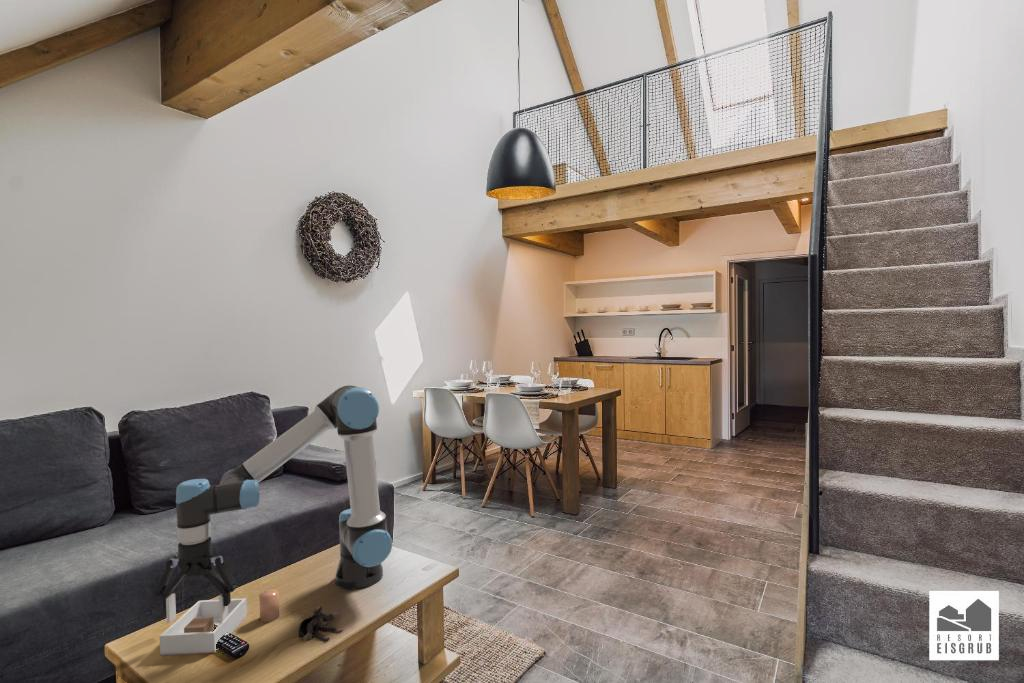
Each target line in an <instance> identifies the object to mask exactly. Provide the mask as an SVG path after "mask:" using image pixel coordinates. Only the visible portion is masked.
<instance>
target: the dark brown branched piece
mask: <svg viewBox="0 0 1024 683" xmlns="http://www.w3.org/2000/svg"><path fill="white" fill-rule="evenodd" d="M324 612H325V611H324V609H323V608H322V606H318V607H315V608H314V609H313V612H312V613H311V615H310V616H309V617H308V618H305V619H303V620H302V621H301V623H300V624H299V628H298V631H297V634H298V638H301V639H302V641H303V642H307V641H310V640H312V638H313V637H315V639H317V640H320V641H323V642H325V641H329V639H330V638H331V636H330V635H324V634H322V633H321V632H331V633H333V634H339V633H341V632H342V631H343V630H344V629H343V628H338V627H335V626H333V625H332V626H331V625H329V622H332V621H335V620H336V619H337V618H338V617H339V614H340V613H339V612H338V611H333V613H330V614H327V613H324ZM322 623H324V624H322Z"/></svg>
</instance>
